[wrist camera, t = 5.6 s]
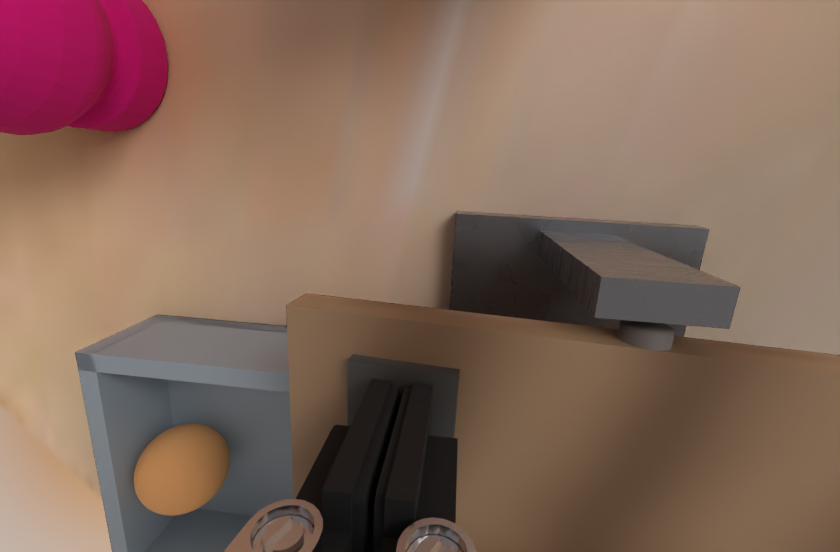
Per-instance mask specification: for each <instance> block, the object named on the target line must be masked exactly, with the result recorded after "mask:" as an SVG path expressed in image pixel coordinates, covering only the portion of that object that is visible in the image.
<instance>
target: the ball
mask: <svg viewBox="0 0 840 552" xmlns="http://www.w3.org/2000/svg"><path fill="white" fill-rule="evenodd" d="M229 465H230V453H229V448H228V446H227V443H226V441H225V440H224V438H223V437H222V436H221V434H219V433H218V432H217V431H216V430H214V429H213V428H211V427H209V426H206V425H202V424H194V423H193V424H182V425H178V426H175V427H172V428H170V429H168V430H166V431H164V432H163V433H161V434H159V435H158V436H157V437H156V438H154V439H153V440H152V441H151V442H150V443H149V444H148V445H147V446H146V448H145V449H144V450H143V452H142V453H141V455H140V457H139V459H138V461H137V464H136V467H135V471H134V488H135V492H136V494H137V497H138V498H139V500H140V501H141V503H142V504H143V505H144V506H145V507H146V508H148V509H149V510H151V511H153V512H155V513H158V514H162V515H169V516H171V515H181V514H185V513H188V512H191V511H194V510H196V509H198V508H200V507H201V506H203V505H204V504H205V503H207V502H208V501H209V500H210V499H212V498H213V497H214V495H215V494H216V493H217V492H218V491H219V490H220V488H221V486H222V485H223V483H224V481H225V479H226V477H227V474H228V471H229Z"/></svg>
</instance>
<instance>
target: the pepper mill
mask: <svg viewBox="0 0 840 552" xmlns="http://www.w3.org/2000/svg"><path fill="white" fill-rule="evenodd" d="M167 76H168V59H167V53H166V47H165V42H164V39H163V36H162V34H161V31H160V29H159V26H158V24H157V22H156V20H155V18H154V16H153V15H152V13H151V12H150V10H149V9H148V7H147V6H146V5H145V4H144V2H143V1H142V0H0V132H3V133H10V134H17V135H32V134H39V133H45V132H52V131H55V130H57V129H60V128H62V127H65V126H71V127H77V128H85V129H93V130H101V131H114V132H116V131H122V130H127V129H130V128H133V127H135V126H138V125H139V124H141V123H142V122H144V121H145V120H147V119H148V118H149V117H150V116H151V114H152V113H153V112H154V110H155V109H156V108H157V107H158V105H159V104H160V103H161V100H162V97H163V95H164V91H165V88H166V85H167Z"/></svg>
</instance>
